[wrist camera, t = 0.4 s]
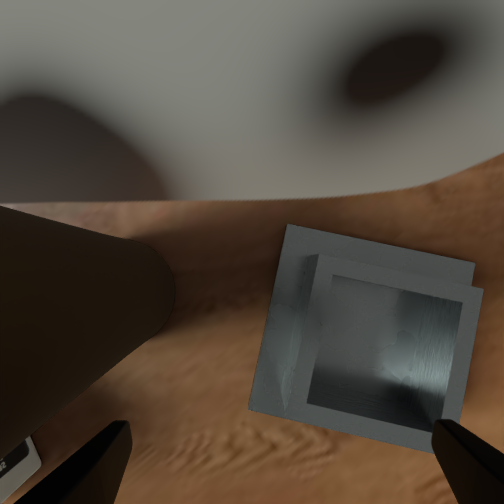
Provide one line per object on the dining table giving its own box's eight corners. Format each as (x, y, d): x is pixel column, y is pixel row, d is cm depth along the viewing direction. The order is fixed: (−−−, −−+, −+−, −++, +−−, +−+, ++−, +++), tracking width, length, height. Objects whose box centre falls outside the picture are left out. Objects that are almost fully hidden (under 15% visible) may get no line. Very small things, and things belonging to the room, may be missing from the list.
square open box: (431, 446, 22) (481, 499, 17) (248, 403, 23) (245, 442, 18) (465, 263, 23) (523, 263, 18) (286, 225, 23) (293, 215, 18)
